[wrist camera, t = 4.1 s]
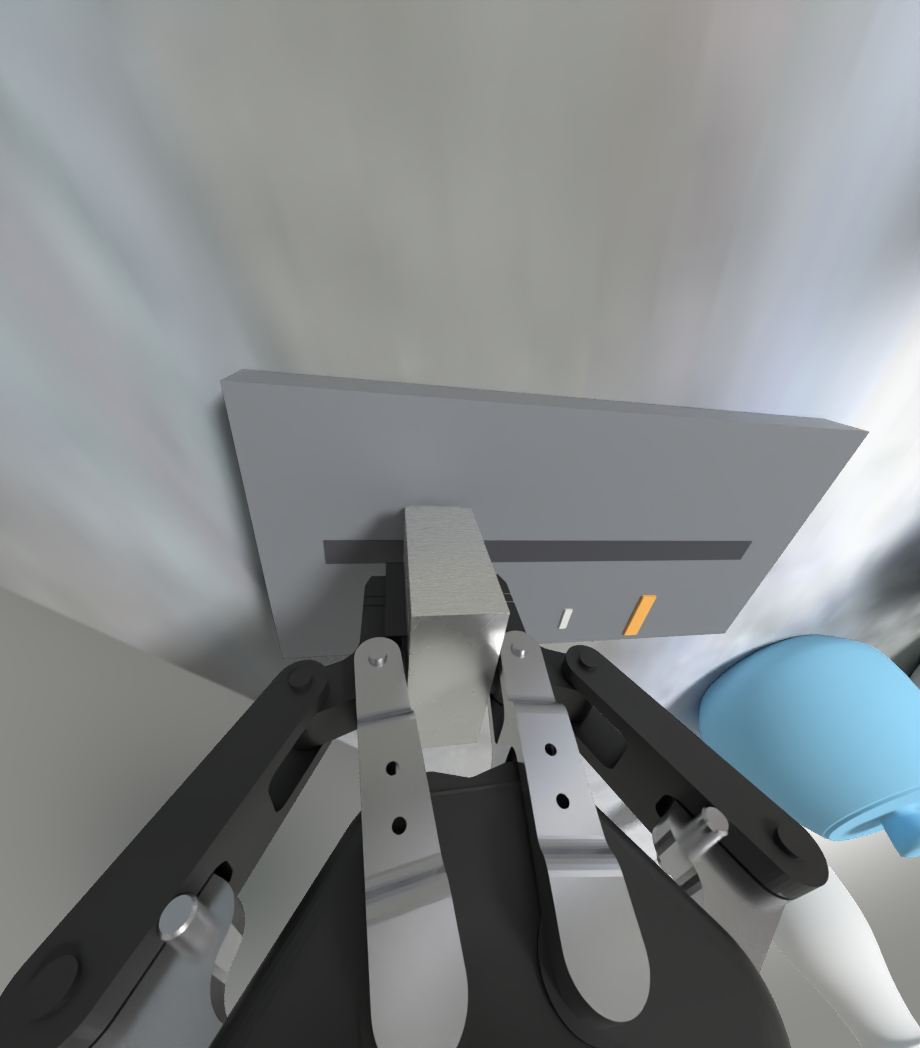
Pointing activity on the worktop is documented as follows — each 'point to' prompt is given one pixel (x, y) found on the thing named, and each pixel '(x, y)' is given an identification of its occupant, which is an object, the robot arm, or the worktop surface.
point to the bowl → (916, 677)
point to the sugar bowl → (824, 736)
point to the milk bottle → (845, 965)
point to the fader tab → (450, 623)
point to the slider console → (522, 500)
